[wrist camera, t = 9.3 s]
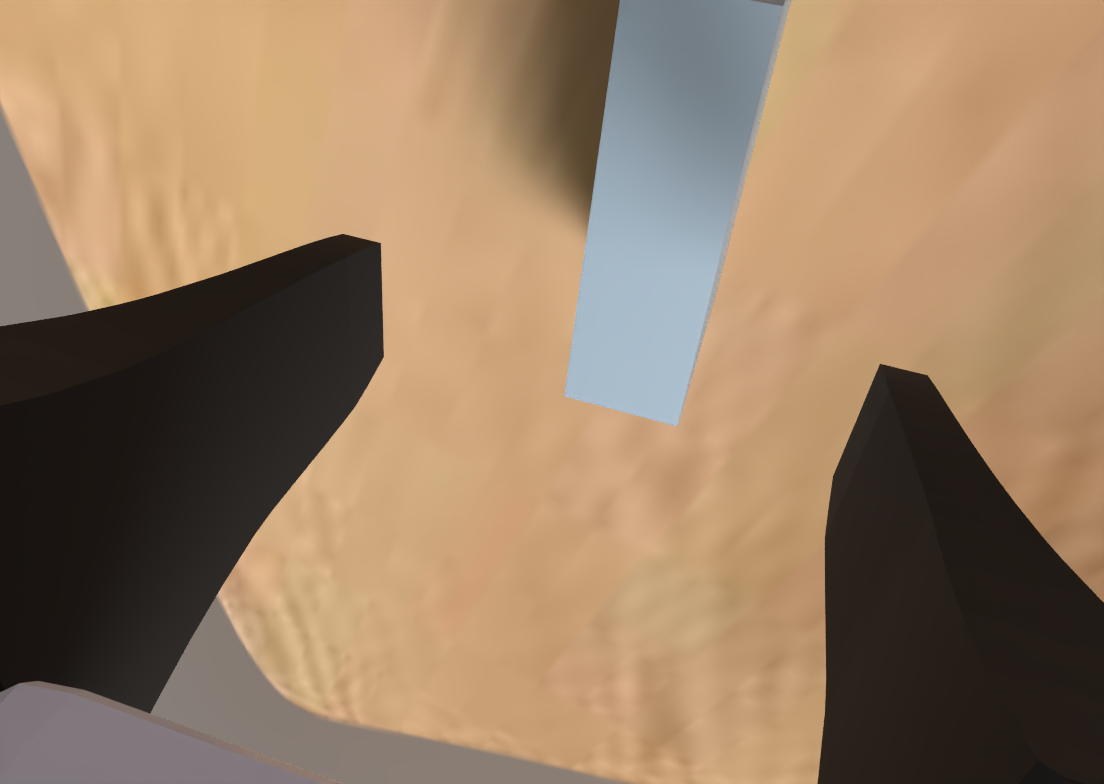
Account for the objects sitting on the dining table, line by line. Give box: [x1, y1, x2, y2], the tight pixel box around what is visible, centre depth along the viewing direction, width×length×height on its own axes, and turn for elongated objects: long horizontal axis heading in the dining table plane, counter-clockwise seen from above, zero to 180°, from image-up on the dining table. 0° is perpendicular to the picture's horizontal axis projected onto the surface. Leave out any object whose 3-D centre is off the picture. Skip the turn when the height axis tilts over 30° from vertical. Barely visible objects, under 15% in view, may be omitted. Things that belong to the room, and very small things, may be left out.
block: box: [565, 0, 791, 426], centre depth 17 cm, size 2×8×6 cm, turn 174°
